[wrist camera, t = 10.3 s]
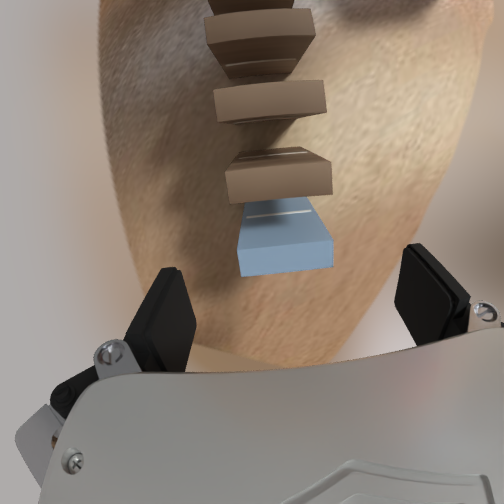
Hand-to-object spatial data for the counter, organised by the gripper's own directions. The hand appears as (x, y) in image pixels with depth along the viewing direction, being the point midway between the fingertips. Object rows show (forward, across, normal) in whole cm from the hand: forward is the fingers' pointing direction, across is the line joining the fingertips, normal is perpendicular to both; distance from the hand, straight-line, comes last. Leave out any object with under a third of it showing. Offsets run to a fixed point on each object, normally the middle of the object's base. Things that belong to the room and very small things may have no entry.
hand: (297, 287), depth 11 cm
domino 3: (+14, 0, -7) cm, 15 cm away
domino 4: (+14, 0, -3) cm, 14 cm away
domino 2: (+14, 0, -11) cm, 18 cm away
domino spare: (+14, 0, +1) cm, 14 cm away
